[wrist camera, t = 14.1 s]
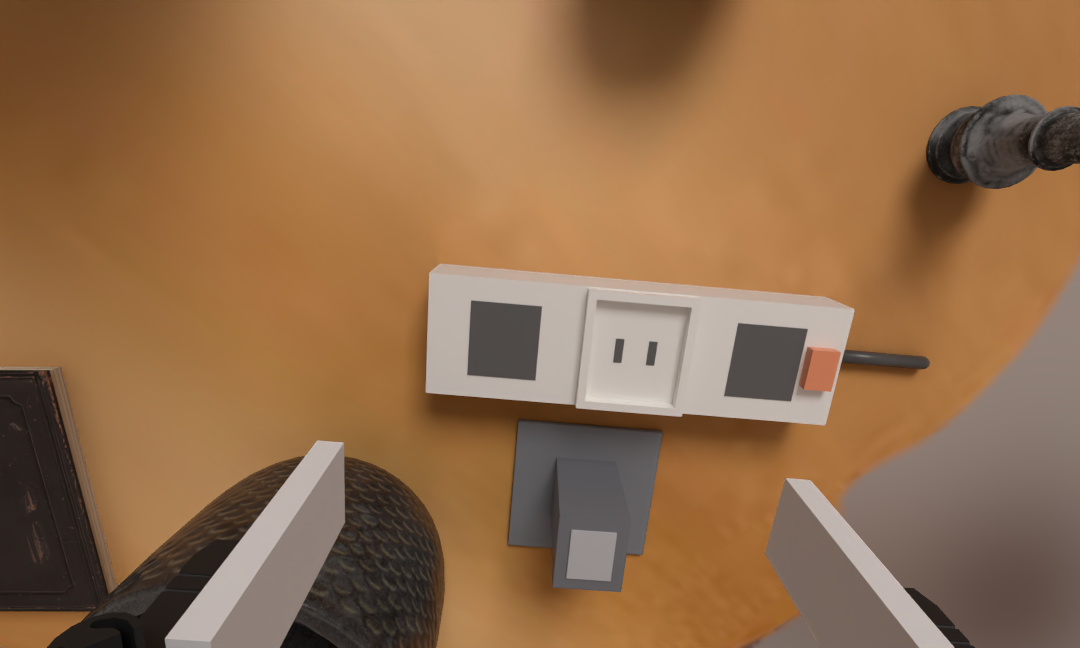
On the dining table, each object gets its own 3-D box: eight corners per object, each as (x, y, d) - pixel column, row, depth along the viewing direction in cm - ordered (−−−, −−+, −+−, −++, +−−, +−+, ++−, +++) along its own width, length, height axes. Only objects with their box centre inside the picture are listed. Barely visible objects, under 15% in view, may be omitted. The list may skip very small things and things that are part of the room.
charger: (550, 518, 46) (552, 589, 38) (556, 457, 45) (560, 517, 37) (607, 522, 46) (621, 593, 38) (615, 461, 45) (631, 522, 37)
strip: (435, 373, 43) (423, 397, 38) (439, 263, 41) (426, 274, 36) (907, 411, 44) (950, 439, 39) (939, 306, 41) (989, 323, 37)
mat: (508, 541, 47) (508, 544, 47) (518, 419, 44) (518, 421, 44) (641, 551, 48) (642, 554, 47) (661, 430, 44) (662, 433, 44)
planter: (487, 587, 49) (455, 837, 30) (284, 622, 50) (133, 882, 31) (433, 393, 43) (353, 552, 25) (207, 436, 45) (-27, 619, 26)
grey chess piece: (905, 149, 38) (1063, 138, 27) (973, 83, 37) (1169, 41, 25) (955, 204, 39) (1128, 216, 28) (1022, 142, 38) (1232, 127, 27)
